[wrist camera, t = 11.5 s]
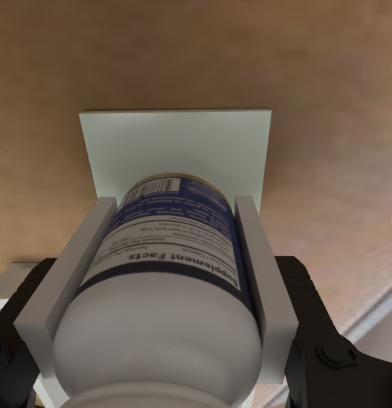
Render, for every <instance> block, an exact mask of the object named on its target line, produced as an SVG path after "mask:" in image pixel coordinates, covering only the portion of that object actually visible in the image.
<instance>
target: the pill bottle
mask: <svg viewBox="0 0 392 408" xmlns="http://www.w3.org/2000/svg"><path fill="white" fill-rule="evenodd" d="M52 357H53V365H54V370H55V374H56V377H57V379H58V381H59V383H60V385H61V387H62V389H63V390H64V392H65V393H66V394H67V396H68V397H69V398H70V399H69V400H67V401H66V402H65V403H64V404H63V405H62V406H61V407H60V408H238V407H239V406H240V405H241V404H242V403H243V402H244V401H245V400H246V399H247V397H248V396H249V395H250V393H251V392H252V390H253V389H254V387H255V385H256V383H257V380H258V378H259V374H260V371H261V366H262V347H261V341H260V335H259V329H258V325H257V320H256V315H255V311H254V306H253V302H252V297H251V293H250V288H249V283H248V279H247V274H246V270H245V265H244V260H243V256H242V251H241V247H240V243H239V238H238V233H237V229H236V224H235V220H234V216H233V212H232V209H231V206H230V203H229V201H228V199H227V197H226V196H225V194H224V193H223V192H222V190H221V189H220V188H219V187H218V186H217V185H215V184H214V183H213V182H212V181H210V180H208V179H207V178H205V177H203V176H201V175H198V174H196V173H193V172H189V171H184V170H164V171H159V172H155V173H152V174H150V175H147V176H146V177H144V178H142V179H140V180H139V181H138V182H136V183H135V184H134V185H133V186H132V187H131V188H130V189H129V191H128V192H127V193H126V195H125V196H124V198H123V200H122V202H121V204H120V206H119V208H118V210H117V212H116V214H115V216H114V218H113V220H112V222H111V224H110V226H109V228H108V230H107V232H106V234H105V236H104V238H103V239H102V241H101V244H100V246H99V248H98V249H97V251H96V253H95V255H94V257H93V259H92V261H91V263H90V265H89V267H88V269H87V271H86V273H85V275H84V277H83V279H82V281H81V283H80V285H79V286H78V288H77V290H76V292H75V294H74V296H73V298H72V300H71V302H70V304H69V306H68V308H67V310H66V312H65V314H64V316H63V318H62V320H61V322H60V324H59V326H58V328H57V332H56V335H55V338H54V342H53V349H52Z"/></svg>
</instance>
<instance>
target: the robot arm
mask: <svg viewBox="0 0 392 408" xmlns="http://www.w3.org/2000/svg"><path fill="white" fill-rule="evenodd" d="M117 210H118V204H117V199H116V197H99V198H98V200H97V201H96V203H95V204H94V206H93V207H92V209H91V210H90V212H89V213H88V215H87V216H86V217H85V219H84V220H83V222H82V223H81V225H80V226H79V228H78V229H77V231H76V232H75V234H74V235H73V236H72V238H71V239H70V241H69V242H68V244H67V245H66V247H65V248H64V250H63V251H62V253H61V254H60V255H59V257H58V258H46V259H44V260H43V261H42V262H40V263H39V264H38V265H36V266H35V267H34V268H33V269H32V270H31V271H30V273H29V274H28V275H27V276H26V278H25V279H24V282H22V283H21V284H20V286H19V287H18V288H17V291H16V292H14V293H13V295H12V296H11V297H10V299H9V300H8V301H7V303H6V304H5V305H4V306H3V308H2V309H1V310H0V408H34V406H35V401H36V392H35V390H34V389H33V386H34V384H35V382H36V380H37V378H38V376H39V374H41V376H42V378H43V380H44V381H45V383H46V384H60V383H59V381H58V379H57V377H56V374H55V370H54V365H53V357H52V349H53V342H54V338H55V335H56V332H57V328H58V326H59V324H60V322H61V320H62V318H63V316H64V314H65V312H66V310H67V308H68V306H69V304H70V302H71V300H72V298H73V296H74V294H75V292H76V290H77V288H78V286H79V285H80V283H81V281H82V279H83V277H84V275H85V273H86V271H87V269H88V267H89V265H90V263H91V261H92V259H93V257H94V255H95V253H96V251H97V249H98V248H99V246H100V244H101V241H102V239H103V238H104V236H105V234H106V232H107V230H108V228H109V226H110V224H111V222H112V220H113V218H114V216H115V214H116V212H117ZM234 220H235V224H236V229H237V233H238V238H239V243H240V247H241V251H242V256H243V260H244V265H245V270H246V274H247V279H248V283H249V288H250V293H251V297H252V302H253V306H254V311H255V315H256V320H257V325H258V329H259V335H260V341H261V347H262V366H261V371H260V374H259V378H258V380H257V383H256V384H282V383H283V379H284V376H286V379H287V383H288V387H289V395H288V398H287V401H286V405H285V408H392V363H391V362H387V361H384V360H381V359H377V358H374V357H371V356H369V355H366V354H363V353H362V352H360V351H358V350H357V349H356V347H355V346H354V345H353V344H352V343H351V342H350V341H349V340H347V339H346V338H345V337H343V336H342V335H340V334H339V333H338V331H337V330H336V328H335V326H334V324H333V322H332V320H331V318H330V316H329V314H328V312H327V310H326V308H325V306H324V304H323V302H322V300H321V298H320V296H319V294H318V292H317V290H316V289H315V286H314V284H313V282H312V280H311V279H310V276H309V274H308V272H307V269H306V267H305V266H304V265H303V264H302V263H301V262H300V261H299V260H298V259H297V258H296V257H295V256H274V255H273V252H272V249H271V246H270V244H269V241H268V238H267V236H266V233H265V230H264V227H263V225H262V222H261V219H260V217H259V214H258V211H257V208H256V206H255V203H254V200H253V198H252V195H251V196H235V203H234Z"/></svg>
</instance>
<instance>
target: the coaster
mask: <svg viewBox="0 0 392 408" xmlns="http://www.w3.org/2000/svg"><path fill="white" fill-rule="evenodd" d="M271 113H272V111H271V110H270V109H207V110H134V111H83V112H81V113H79V117H80V121H81V126H82V130H83V135H84V139H85V144H86V148H87V153H88V157H89V162H90V166H91V171H92V175H93V179H94V184H95V188H96V193H97V197H98V198H99V197H116V199H117V204H118V208H119V206H120V204H121V202H122V200H123V198H124V196H125V195H126V193H127V192H128V191H129V189H130V188H131V187H132V186H133V185H134V184H135V183H136V182H138V181H139V180H140V179H142V178H144V177H146V176H147V175H150V174H152V173H155V172H159V171H164V170H184V171H189V172H193V173H196V174H198V175H201V176H203V177H205V178H207V179H208V180H210V181H212V182H213V183H214V184H215V185H217V186H218V187H219V188H220V189H221V190H222V192H223V193H224V194H225V196H226V197H227V199H228V201H229V203H230V206H231V209H232V212H233V216H234V203H235V196H251V195H252V198H253V200H254V203H255V206H256V208H257V211H258V214H259V212H260V204H261V196H262V188H263V179H264V171H265V163H266V155H267V146H268V138H269V130H270V121H271Z"/></svg>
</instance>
